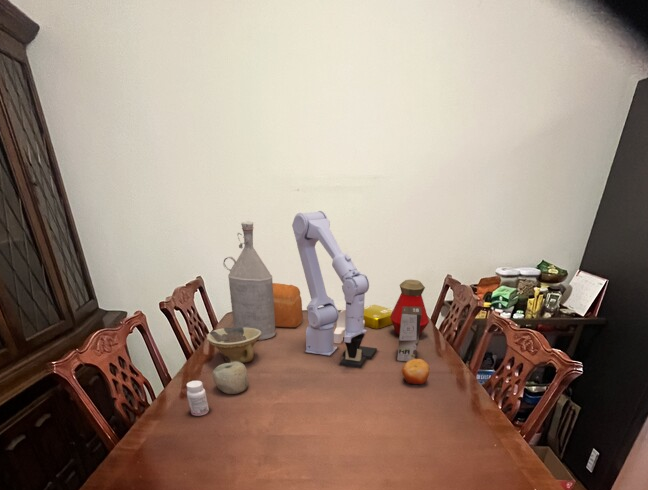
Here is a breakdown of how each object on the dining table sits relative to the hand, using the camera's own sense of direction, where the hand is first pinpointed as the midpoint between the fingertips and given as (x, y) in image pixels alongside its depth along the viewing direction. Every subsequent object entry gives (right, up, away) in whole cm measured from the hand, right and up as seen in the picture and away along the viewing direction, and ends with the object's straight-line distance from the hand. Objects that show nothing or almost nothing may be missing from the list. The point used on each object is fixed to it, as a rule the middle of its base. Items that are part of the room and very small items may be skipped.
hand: (353, 356), depth 138 cm
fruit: (+18, -10, -11) cm, 23 cm away
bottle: (+23, +13, +24) cm, 36 cm away
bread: (-33, +21, +37) cm, 53 cm away
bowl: (-39, -1, +3) cm, 39 cm away
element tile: (+11, +21, +38) cm, 45 cm away
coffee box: (+19, +1, +6) cm, 20 cm away
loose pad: (0, -2, +1) cm, 2 cm away
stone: (-37, -13, -15) cm, 42 cm away
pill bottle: (-43, -20, -26) cm, 54 cm away
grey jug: (-37, +12, +24) cm, 46 cm away
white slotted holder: (0, +12, +23) cm, 26 cm away
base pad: (+3, +2, +8) cm, 9 cm away
